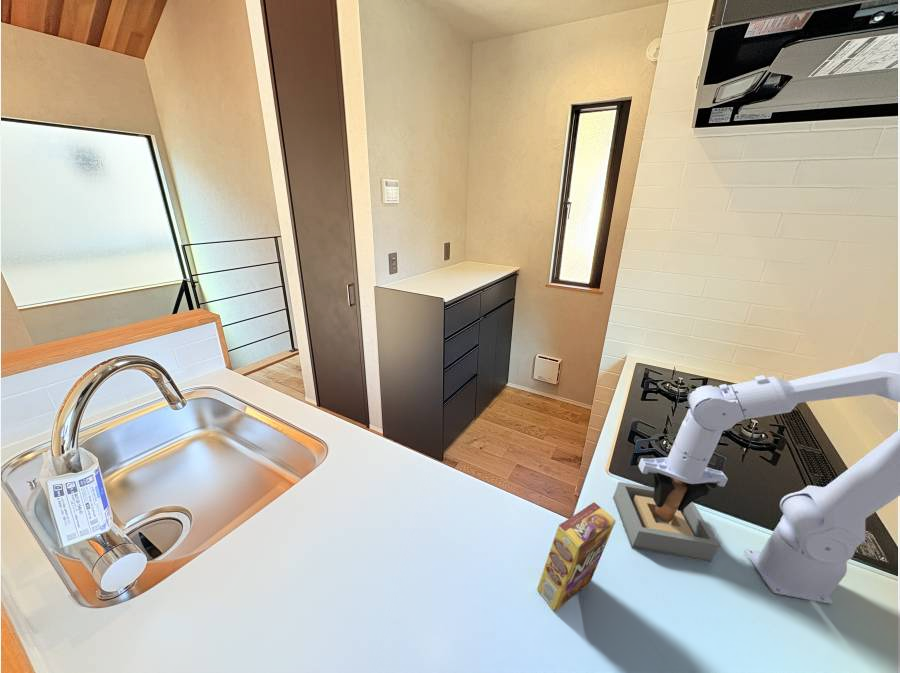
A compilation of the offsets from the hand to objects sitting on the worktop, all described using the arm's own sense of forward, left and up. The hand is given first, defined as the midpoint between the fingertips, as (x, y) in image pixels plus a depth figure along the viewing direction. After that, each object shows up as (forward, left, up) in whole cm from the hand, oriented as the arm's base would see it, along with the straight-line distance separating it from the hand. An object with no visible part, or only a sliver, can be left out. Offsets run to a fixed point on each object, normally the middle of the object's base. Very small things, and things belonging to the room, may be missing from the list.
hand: (667, 504), depth 69 cm
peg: (0, 0, -2) cm, 2 cm away
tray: (0, 0, -6) cm, 6 cm away
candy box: (+21, +16, -6) cm, 27 cm away
